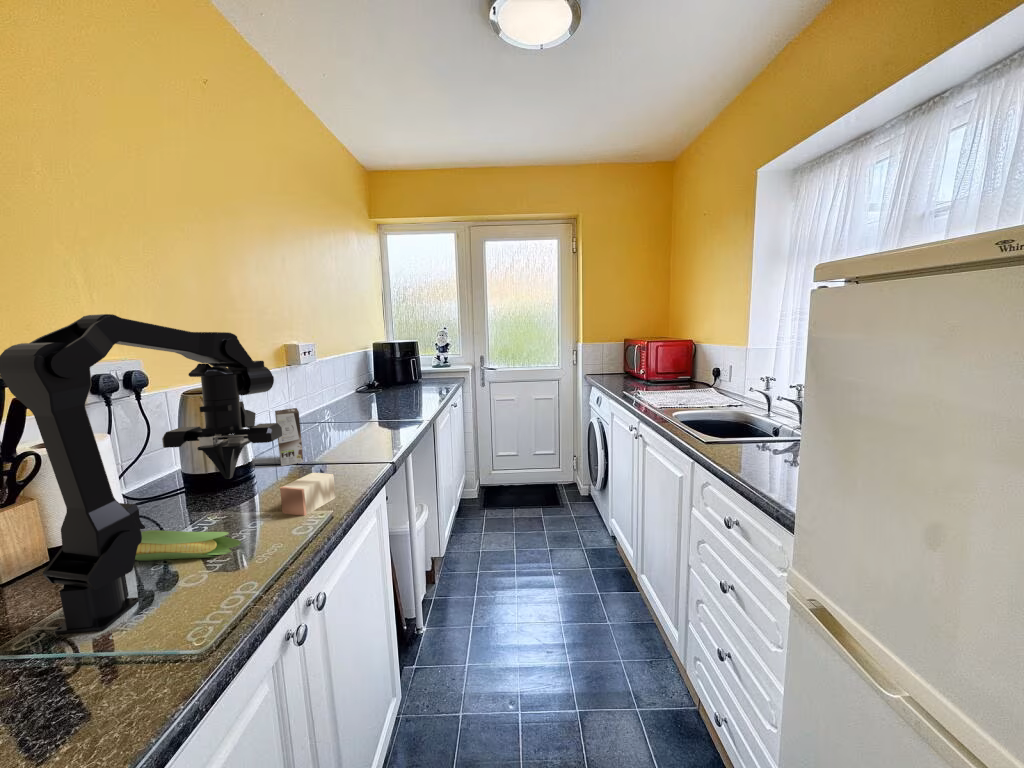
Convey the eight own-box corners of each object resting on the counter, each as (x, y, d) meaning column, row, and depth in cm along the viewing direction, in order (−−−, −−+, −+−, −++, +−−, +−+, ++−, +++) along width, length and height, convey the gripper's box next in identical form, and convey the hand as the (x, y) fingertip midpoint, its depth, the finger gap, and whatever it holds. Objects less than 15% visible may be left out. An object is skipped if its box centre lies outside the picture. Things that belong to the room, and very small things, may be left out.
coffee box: (304, 462, 130) (299, 411, 128) (280, 466, 127) (275, 414, 125) (302, 455, 138) (297, 407, 136) (279, 459, 135) (274, 409, 133)
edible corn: (137, 528, 79) (115, 533, 75) (244, 527, 80) (229, 532, 75) (133, 557, 78) (111, 564, 74) (242, 556, 79) (226, 563, 74)
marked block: (301, 489, 92) (333, 474, 101) (279, 487, 93) (312, 472, 103) (304, 515, 92) (335, 497, 102) (282, 513, 94) (315, 495, 104)
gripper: (289, 392, 89) (295, 463, 91) (193, 395, 87) (200, 468, 88) (266, 399, 78) (273, 480, 80) (156, 403, 76) (165, 487, 77)
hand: (228, 478), depth 82 cm, fingers closed
